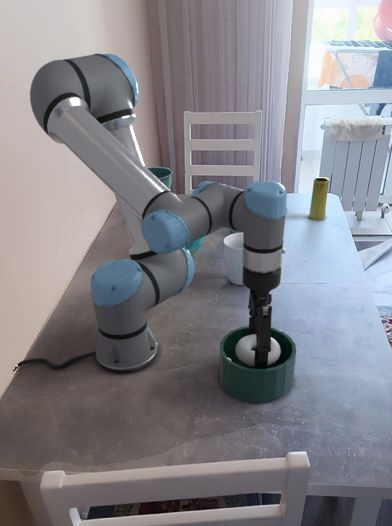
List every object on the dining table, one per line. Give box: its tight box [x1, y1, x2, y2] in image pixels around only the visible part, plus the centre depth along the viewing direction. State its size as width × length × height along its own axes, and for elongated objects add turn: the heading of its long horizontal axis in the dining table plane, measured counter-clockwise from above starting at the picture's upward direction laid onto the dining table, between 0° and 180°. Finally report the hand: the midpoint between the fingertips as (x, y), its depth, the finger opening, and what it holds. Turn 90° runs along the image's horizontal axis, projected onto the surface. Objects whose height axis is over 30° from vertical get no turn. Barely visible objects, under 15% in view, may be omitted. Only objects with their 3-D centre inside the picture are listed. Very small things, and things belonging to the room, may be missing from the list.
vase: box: [308, 177, 330, 221], centre depth 180 cm, size 6×6×14 cm
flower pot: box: [145, 166, 173, 191], centre depth 187 cm, size 16×16×16 cm
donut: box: [235, 334, 281, 367], centre depth 106 cm, size 10×4×10 cm
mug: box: [222, 233, 245, 286], centre depth 142 cm, size 15×11×13 cm
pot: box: [219, 325, 297, 404], centre depth 109 cm, size 17×17×9 cm
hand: (257, 355), depth 107 cm, fingers closed on donut, 10 cm apart
